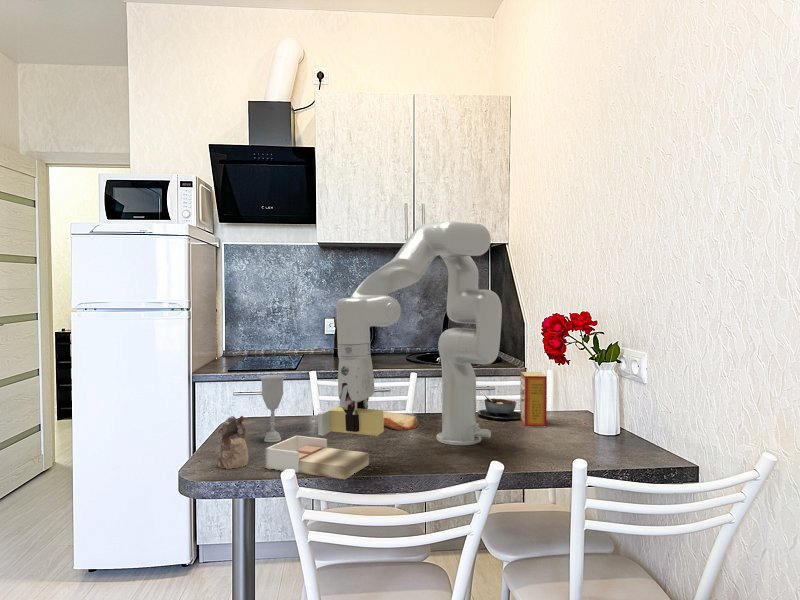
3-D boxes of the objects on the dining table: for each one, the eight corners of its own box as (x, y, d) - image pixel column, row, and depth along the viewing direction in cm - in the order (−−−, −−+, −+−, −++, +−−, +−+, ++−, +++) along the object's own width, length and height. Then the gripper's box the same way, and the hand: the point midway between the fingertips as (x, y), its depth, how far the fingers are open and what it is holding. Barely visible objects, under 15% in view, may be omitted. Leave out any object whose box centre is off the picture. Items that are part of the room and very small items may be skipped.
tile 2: (321, 457, 145) (321, 447, 145) (312, 462, 141) (312, 452, 141) (306, 455, 147) (306, 445, 146) (296, 460, 142) (296, 450, 142)
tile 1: (308, 464, 139) (308, 454, 139) (297, 469, 135) (297, 459, 135) (292, 462, 141) (292, 452, 141) (281, 467, 137) (281, 456, 136)
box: (326, 458, 146) (326, 439, 145) (297, 474, 133) (297, 452, 133) (296, 454, 149) (296, 435, 149) (265, 469, 137) (265, 448, 137)
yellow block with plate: (390, 427, 138) (389, 406, 138) (369, 440, 128) (369, 417, 128) (341, 423, 144) (340, 403, 143) (318, 435, 134) (317, 413, 133)
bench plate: (368, 465, 140) (368, 452, 140) (345, 480, 129) (345, 466, 129) (325, 459, 145) (325, 447, 145) (299, 473, 134) (299, 460, 134)
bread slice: (376, 416, 196) (376, 405, 196) (428, 420, 190) (428, 409, 190) (355, 428, 179) (355, 416, 179) (411, 433, 173) (411, 420, 173)
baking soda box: (520, 419, 189) (520, 370, 189) (540, 420, 189) (540, 370, 189) (525, 426, 180) (525, 375, 179) (546, 426, 179) (546, 375, 179)
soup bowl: (488, 423, 185) (488, 400, 185) (469, 413, 200) (469, 391, 200) (530, 420, 189) (530, 398, 188) (509, 410, 204) (509, 389, 204)
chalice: (267, 436, 168) (266, 374, 167) (289, 437, 166) (288, 375, 166) (255, 443, 160) (255, 378, 160) (278, 444, 159) (278, 379, 159)
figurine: (221, 461, 143) (221, 413, 143) (251, 460, 144) (250, 412, 144) (214, 470, 136) (214, 419, 136) (245, 469, 137) (244, 419, 137)
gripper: (351, 356, 126) (354, 440, 127) (383, 346, 141) (386, 421, 142) (321, 355, 129) (324, 437, 130) (356, 345, 144) (358, 418, 145)
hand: (356, 427), depth 136 cm, fingers closed on yellow block with plate, 3 cm apart
